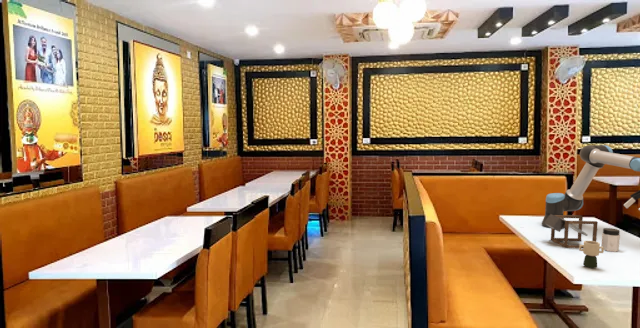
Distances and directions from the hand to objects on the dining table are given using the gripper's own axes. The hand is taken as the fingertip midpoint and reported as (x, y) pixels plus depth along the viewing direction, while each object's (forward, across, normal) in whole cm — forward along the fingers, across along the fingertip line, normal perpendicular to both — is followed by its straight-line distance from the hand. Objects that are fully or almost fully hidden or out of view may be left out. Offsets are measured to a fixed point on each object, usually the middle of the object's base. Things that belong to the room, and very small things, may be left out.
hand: (632, 208), depth 270 cm
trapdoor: (+37, +12, +12) cm, 40 cm away
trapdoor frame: (+36, +12, +2) cm, 38 cm away
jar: (+25, +1, -10) cm, 27 cm away
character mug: (+46, -34, +11) cm, 59 cm away
